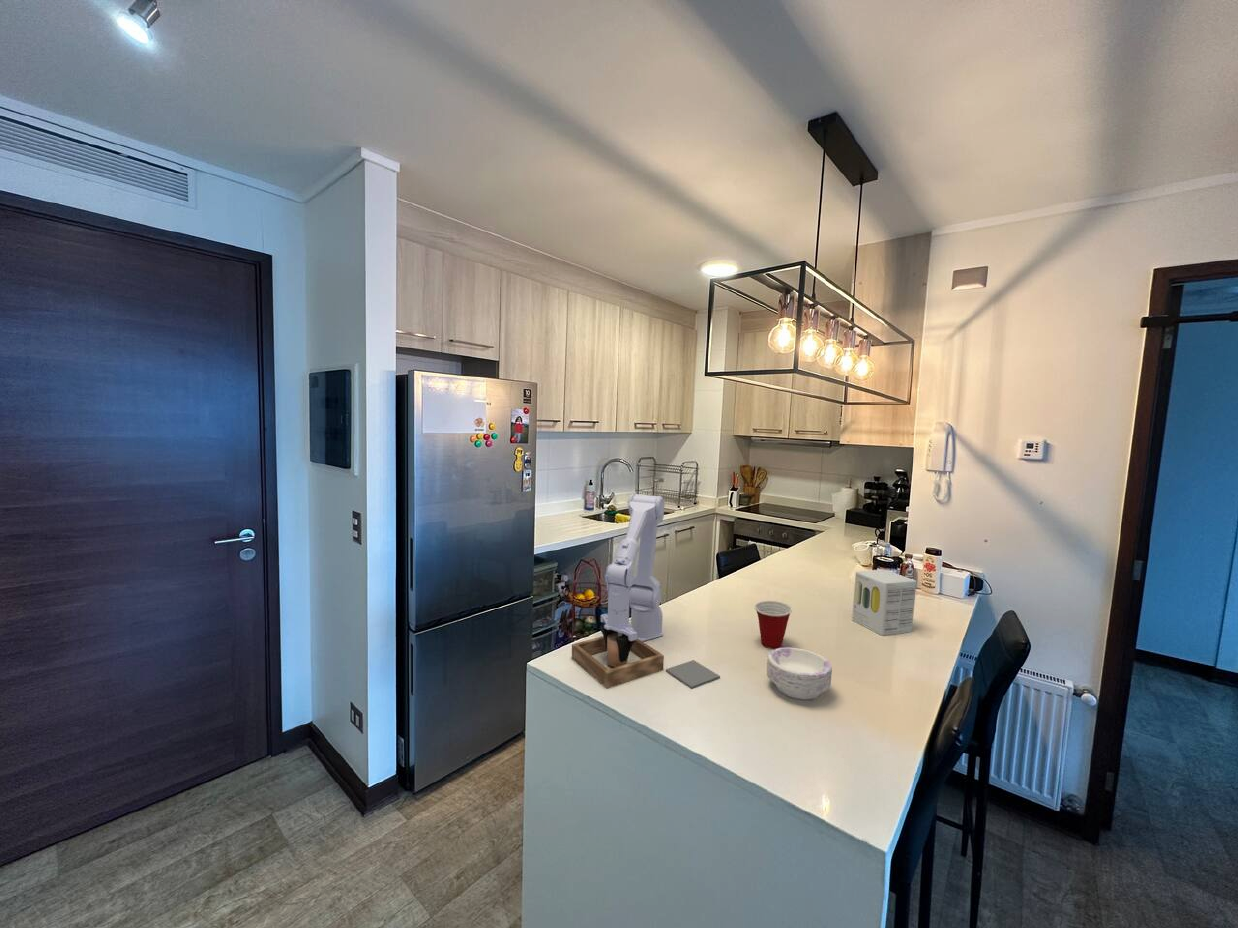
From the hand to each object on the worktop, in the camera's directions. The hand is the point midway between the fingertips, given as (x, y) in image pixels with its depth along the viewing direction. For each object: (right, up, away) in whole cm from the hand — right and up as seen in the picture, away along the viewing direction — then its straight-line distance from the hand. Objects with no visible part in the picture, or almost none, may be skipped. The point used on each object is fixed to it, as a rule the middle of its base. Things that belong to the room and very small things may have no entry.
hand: (616, 655), depth 132 cm
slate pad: (+20, -3, -4) cm, 21 cm away
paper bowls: (+45, -5, -10) cm, 47 cm away
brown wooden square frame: (0, -2, 0) cm, 2 cm away
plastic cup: (+47, -3, +15) cm, 49 cm away
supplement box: (+89, -3, +32) cm, 95 cm away
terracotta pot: (0, -2, 0) cm, 2 cm away
